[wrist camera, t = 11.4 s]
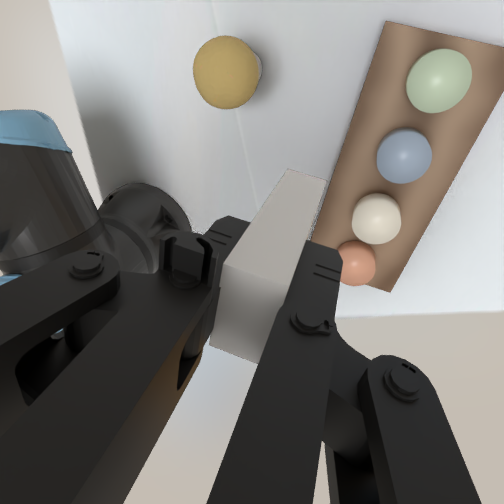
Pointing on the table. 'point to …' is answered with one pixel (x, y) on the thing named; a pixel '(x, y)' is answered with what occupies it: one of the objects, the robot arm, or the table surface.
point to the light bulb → (226, 72)
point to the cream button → (376, 219)
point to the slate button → (403, 155)
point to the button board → (407, 115)
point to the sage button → (438, 80)
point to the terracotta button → (357, 263)
